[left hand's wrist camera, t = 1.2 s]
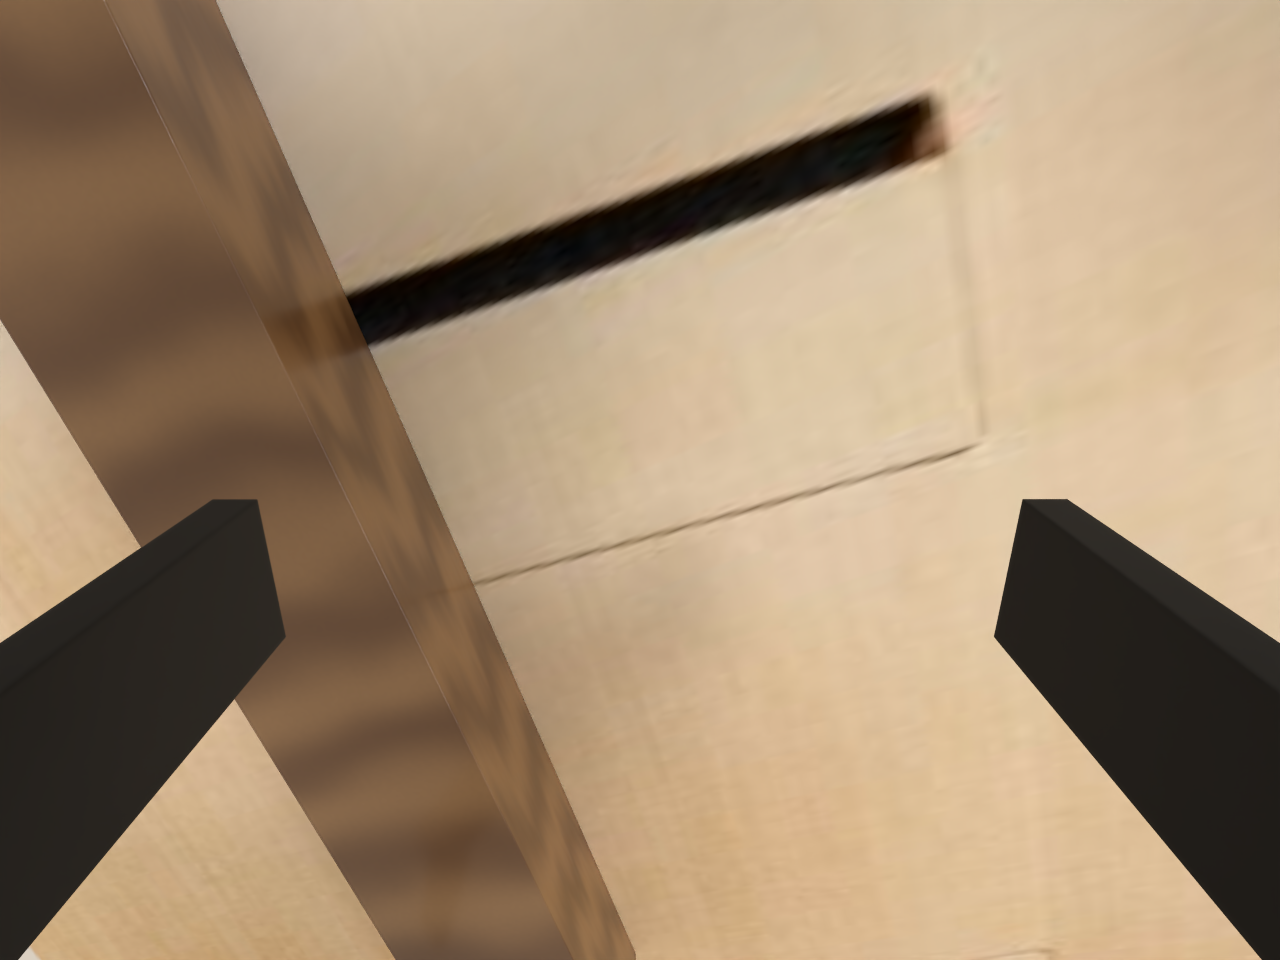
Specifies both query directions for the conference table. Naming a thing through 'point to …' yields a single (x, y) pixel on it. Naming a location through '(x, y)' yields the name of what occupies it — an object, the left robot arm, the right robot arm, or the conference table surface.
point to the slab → (278, 468)
